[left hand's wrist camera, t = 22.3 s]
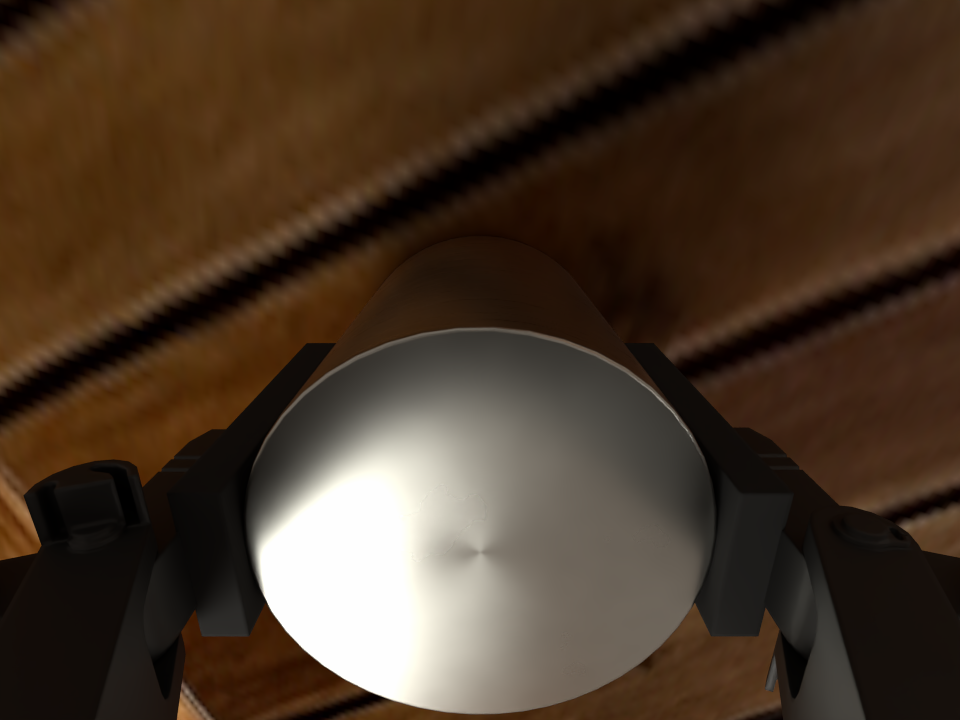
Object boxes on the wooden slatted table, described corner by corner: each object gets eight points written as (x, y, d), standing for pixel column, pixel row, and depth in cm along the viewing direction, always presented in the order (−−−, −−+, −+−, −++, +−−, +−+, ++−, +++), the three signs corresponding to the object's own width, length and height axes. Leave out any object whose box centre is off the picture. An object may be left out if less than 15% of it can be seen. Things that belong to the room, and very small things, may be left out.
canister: (559, 198, 15) (658, 248, 7) (623, 418, 17) (754, 657, 9) (322, 284, 16) (146, 424, 8) (415, 482, 18) (361, 754, 10)
